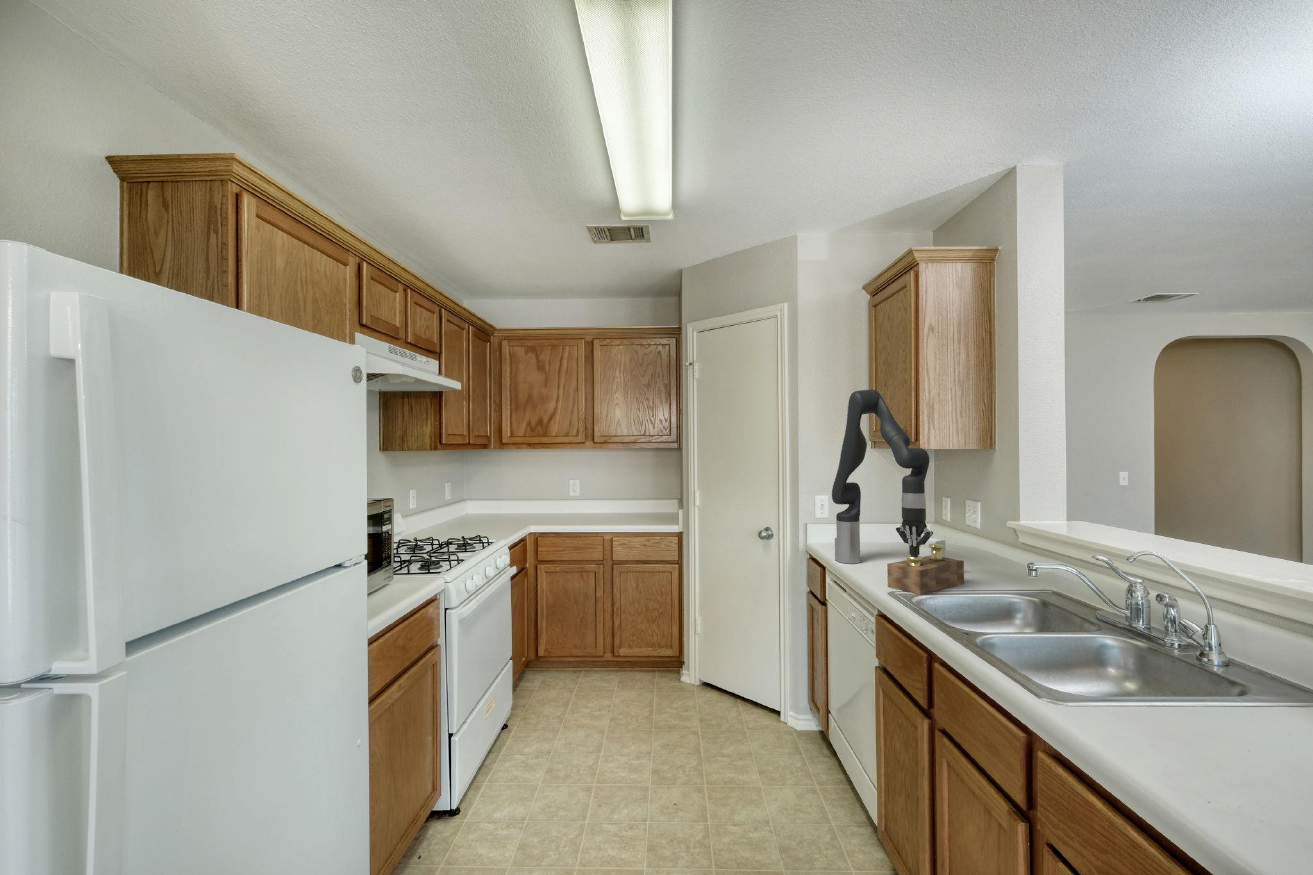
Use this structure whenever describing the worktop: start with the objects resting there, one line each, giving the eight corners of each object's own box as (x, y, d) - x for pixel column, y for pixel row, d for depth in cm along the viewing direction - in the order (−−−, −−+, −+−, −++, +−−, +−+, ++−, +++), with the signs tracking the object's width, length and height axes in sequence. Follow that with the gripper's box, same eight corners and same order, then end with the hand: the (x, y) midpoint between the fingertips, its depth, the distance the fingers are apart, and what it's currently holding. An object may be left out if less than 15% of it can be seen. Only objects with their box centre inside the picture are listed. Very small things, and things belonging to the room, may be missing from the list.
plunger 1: (903, 580, 187) (903, 556, 187) (912, 578, 189) (912, 554, 189) (917, 583, 182) (917, 558, 182) (926, 581, 185) (925, 557, 185)
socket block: (887, 586, 187) (887, 563, 188) (931, 576, 201) (931, 555, 201) (920, 594, 177) (919, 570, 177) (964, 583, 191) (963, 560, 191)
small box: (946, 574, 204) (946, 539, 205) (936, 576, 201) (935, 541, 201) (926, 570, 211) (926, 536, 212) (916, 572, 208) (915, 538, 208)
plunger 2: (925, 568, 193) (925, 544, 194) (934, 566, 196) (933, 542, 196) (939, 570, 189) (939, 546, 189) (947, 568, 192) (947, 545, 192)
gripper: (889, 505, 190) (890, 554, 190) (925, 508, 179) (926, 561, 178) (902, 503, 194) (903, 552, 193) (938, 507, 183) (939, 558, 182)
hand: (914, 556), depth 186 cm, fingers closed
